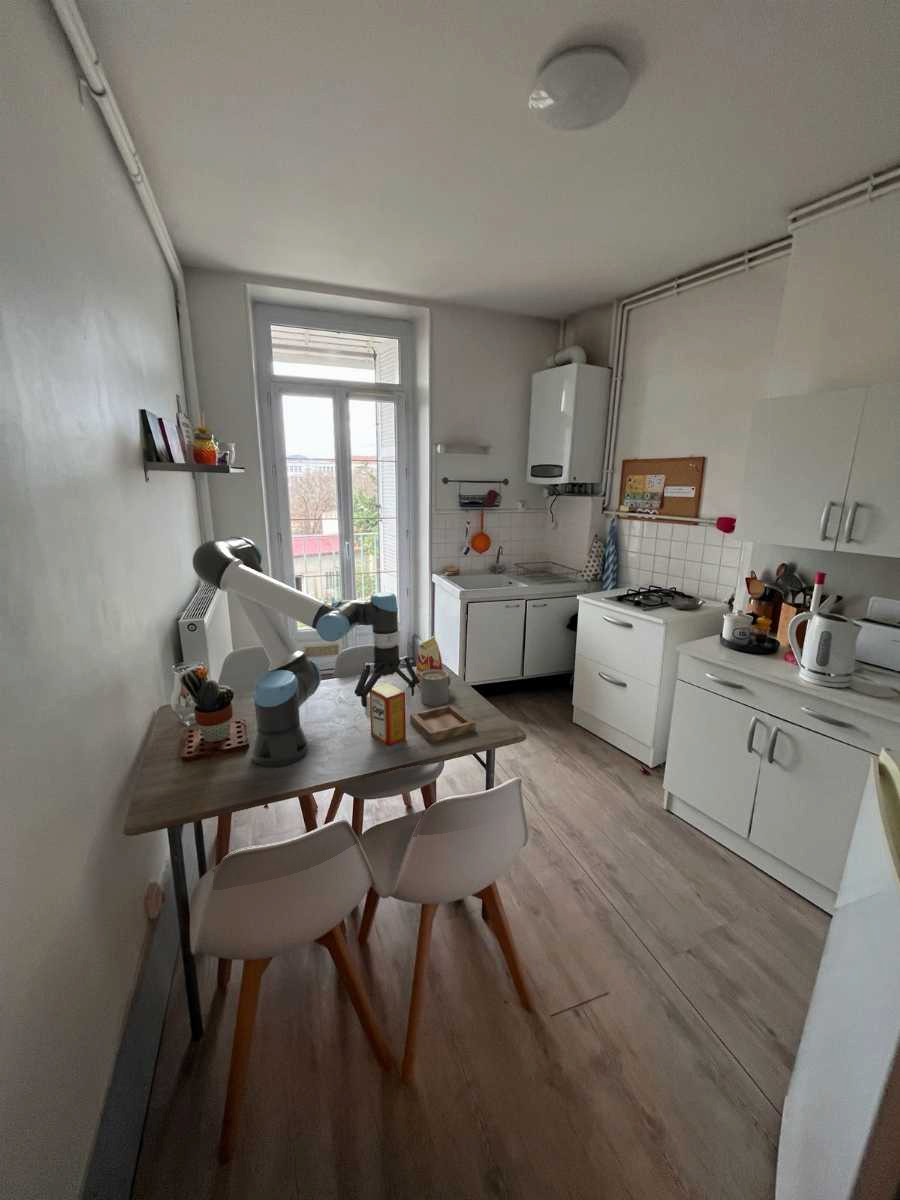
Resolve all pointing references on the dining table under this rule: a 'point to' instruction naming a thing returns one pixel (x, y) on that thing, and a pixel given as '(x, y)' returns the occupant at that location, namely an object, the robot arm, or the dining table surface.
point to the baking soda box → (387, 714)
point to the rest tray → (442, 723)
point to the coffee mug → (434, 687)
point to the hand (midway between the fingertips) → (388, 710)
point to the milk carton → (428, 657)
